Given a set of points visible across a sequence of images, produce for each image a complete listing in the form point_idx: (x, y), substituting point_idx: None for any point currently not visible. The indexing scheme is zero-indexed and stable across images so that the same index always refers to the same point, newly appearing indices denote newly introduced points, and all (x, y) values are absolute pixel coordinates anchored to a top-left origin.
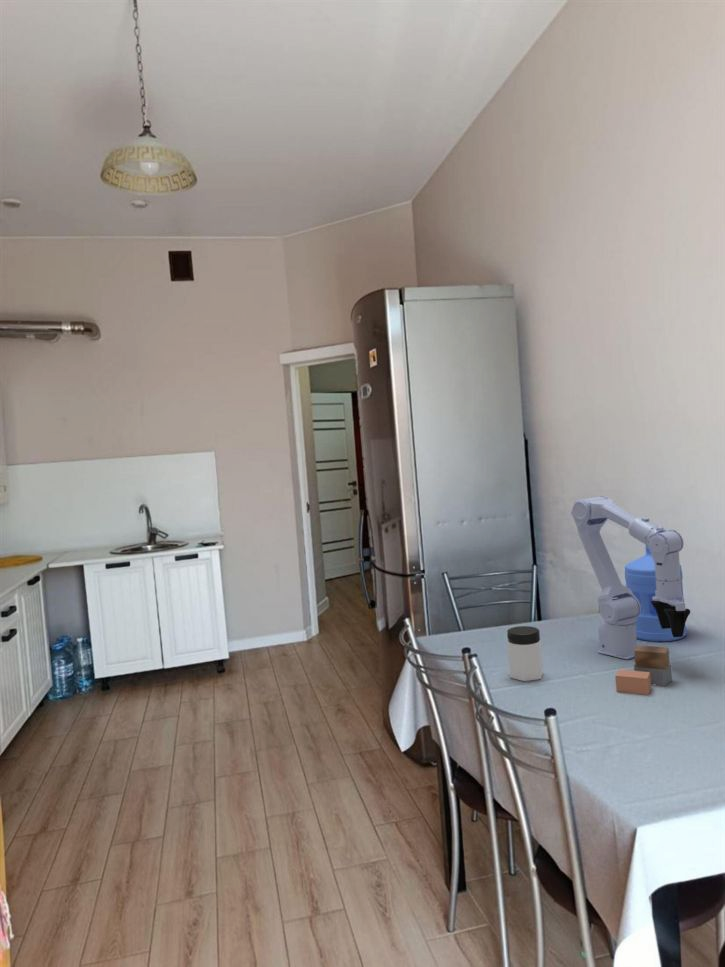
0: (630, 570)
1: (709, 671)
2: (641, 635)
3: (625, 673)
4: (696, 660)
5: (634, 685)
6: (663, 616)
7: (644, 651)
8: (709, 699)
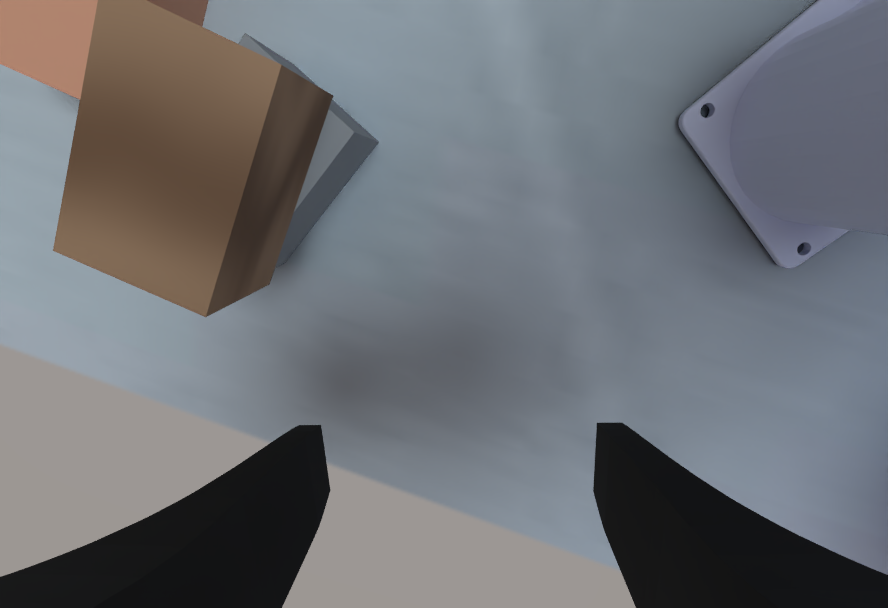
0: None
1: (407, 466)
2: None
3: None
4: (574, 472)
5: None
6: (654, 541)
7: (87, 79)
8: (55, 340)
